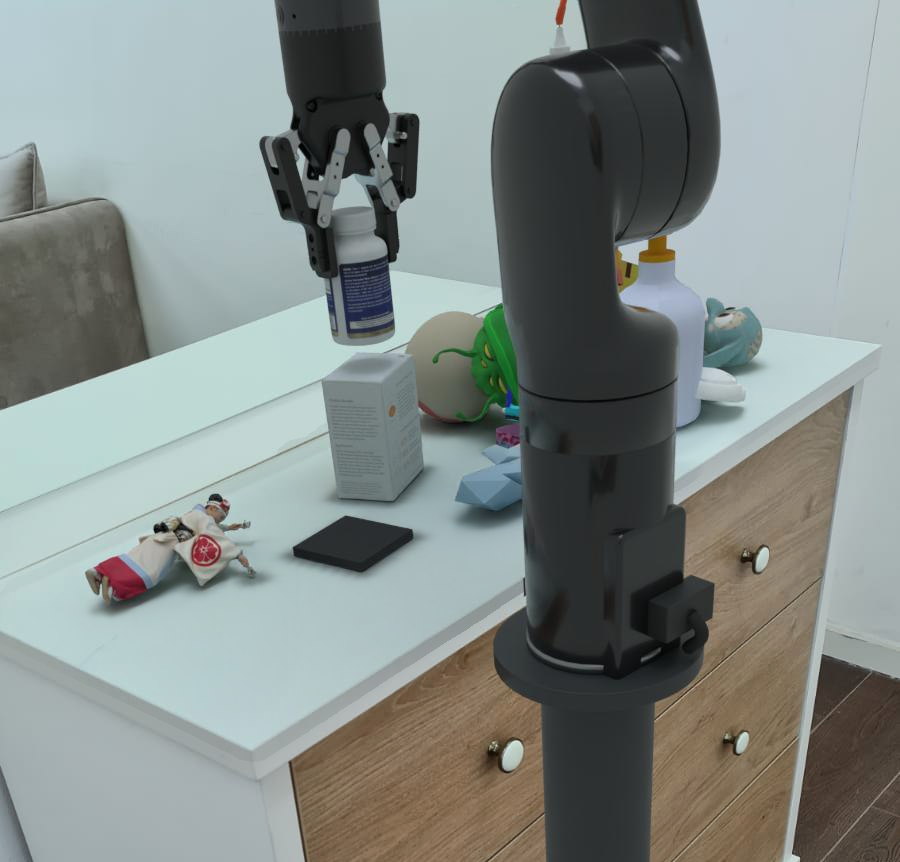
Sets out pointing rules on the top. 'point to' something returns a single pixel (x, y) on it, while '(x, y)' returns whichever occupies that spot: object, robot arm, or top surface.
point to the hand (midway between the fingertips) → (357, 268)
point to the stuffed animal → (730, 335)
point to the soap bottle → (673, 317)
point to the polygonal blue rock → (494, 480)
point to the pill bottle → (359, 281)
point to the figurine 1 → (172, 552)
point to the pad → (353, 543)
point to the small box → (374, 425)
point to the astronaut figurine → (719, 386)
